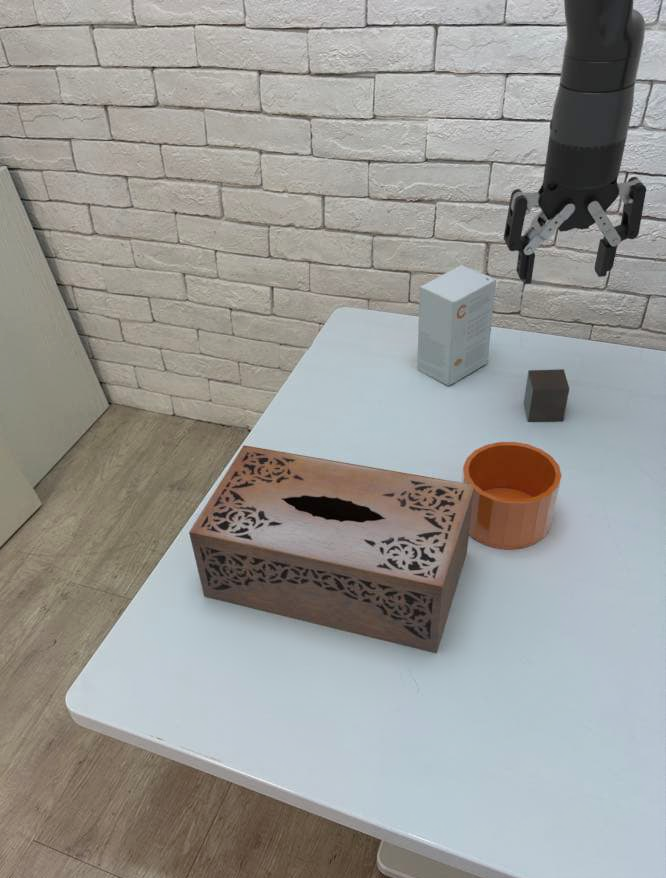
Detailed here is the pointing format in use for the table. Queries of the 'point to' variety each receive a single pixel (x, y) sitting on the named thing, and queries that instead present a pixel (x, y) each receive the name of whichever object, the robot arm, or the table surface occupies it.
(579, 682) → the table surface
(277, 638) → the table surface
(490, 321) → the small box
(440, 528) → the tissue box cover
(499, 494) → the round open container
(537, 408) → the walnut block
